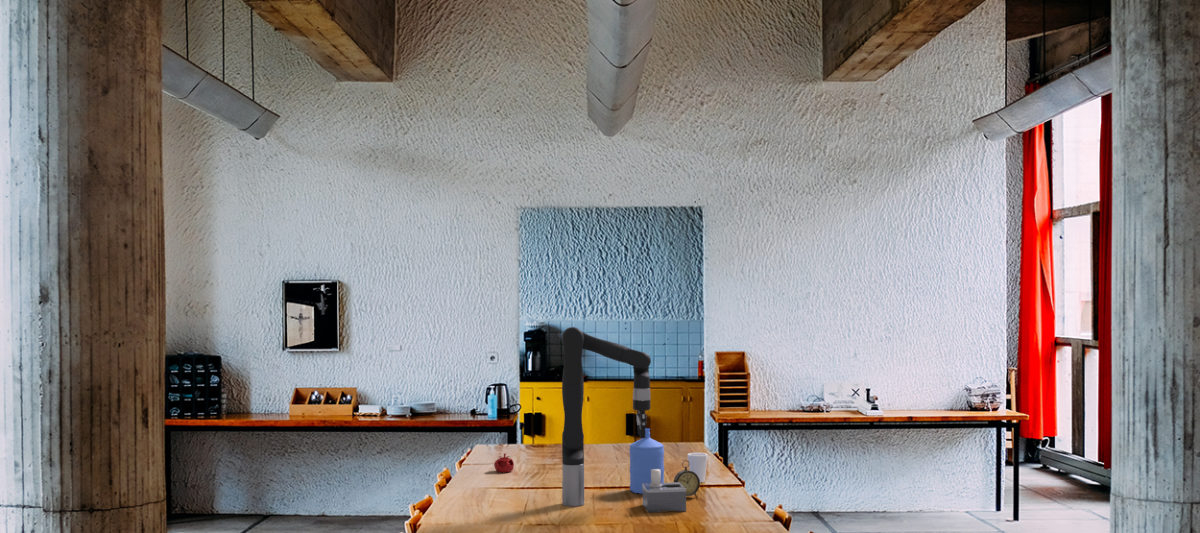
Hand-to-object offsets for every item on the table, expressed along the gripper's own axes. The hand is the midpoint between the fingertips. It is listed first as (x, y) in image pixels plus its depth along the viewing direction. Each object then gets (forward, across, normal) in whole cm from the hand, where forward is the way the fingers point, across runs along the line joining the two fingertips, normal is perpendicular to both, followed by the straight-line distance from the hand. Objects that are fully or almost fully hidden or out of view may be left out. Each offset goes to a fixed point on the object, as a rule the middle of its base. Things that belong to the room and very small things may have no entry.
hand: (641, 436), depth 389 cm
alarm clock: (+28, -7, +21) cm, 36 cm away
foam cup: (+28, -40, +32) cm, 58 cm away
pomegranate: (+30, -77, -61) cm, 103 cm away
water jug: (+28, -23, +6) cm, 37 cm away
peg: (+23, +11, +5) cm, 26 cm away
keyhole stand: (+28, +11, +8) cm, 31 cm away
